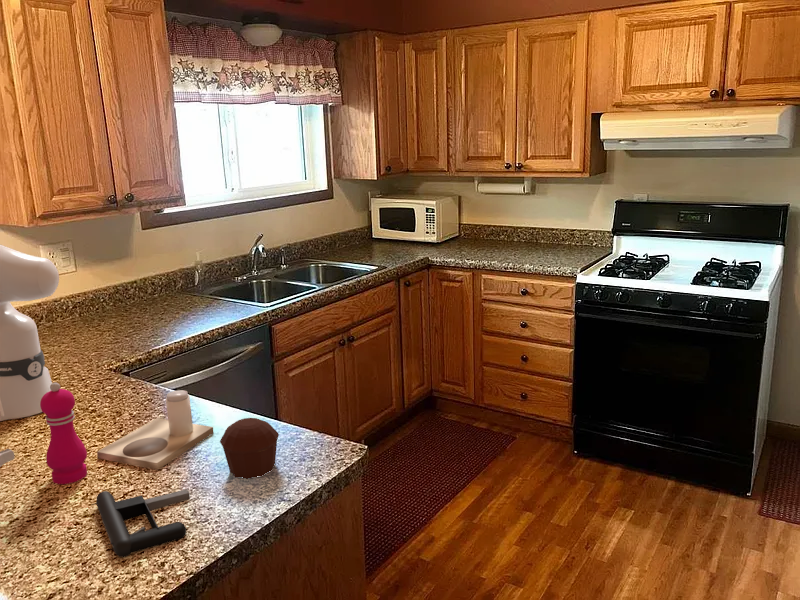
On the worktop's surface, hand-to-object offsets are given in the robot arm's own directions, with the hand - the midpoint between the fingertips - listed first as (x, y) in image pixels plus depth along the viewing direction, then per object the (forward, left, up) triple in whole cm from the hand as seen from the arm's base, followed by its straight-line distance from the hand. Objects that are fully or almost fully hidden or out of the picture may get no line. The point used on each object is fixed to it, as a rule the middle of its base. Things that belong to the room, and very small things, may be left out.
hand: (1, 446), depth 121 cm
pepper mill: (+3, +11, -11) cm, 16 cm away
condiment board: (+10, +28, -11) cm, 32 cm away
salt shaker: (+13, +32, -10) cm, 36 cm away
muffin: (+36, +26, -11) cm, 46 cm away
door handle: (+29, +4, -12) cm, 32 cm away
